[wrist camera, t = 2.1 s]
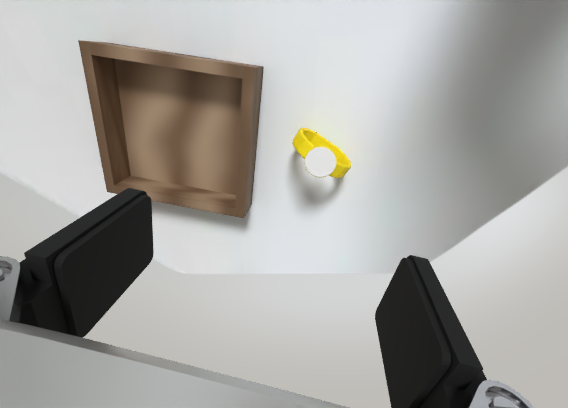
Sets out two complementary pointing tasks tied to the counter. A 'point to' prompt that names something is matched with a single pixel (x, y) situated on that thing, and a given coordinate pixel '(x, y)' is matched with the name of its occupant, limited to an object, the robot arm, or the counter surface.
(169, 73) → the box
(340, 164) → the watch
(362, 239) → the counter surface
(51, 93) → the counter surface
